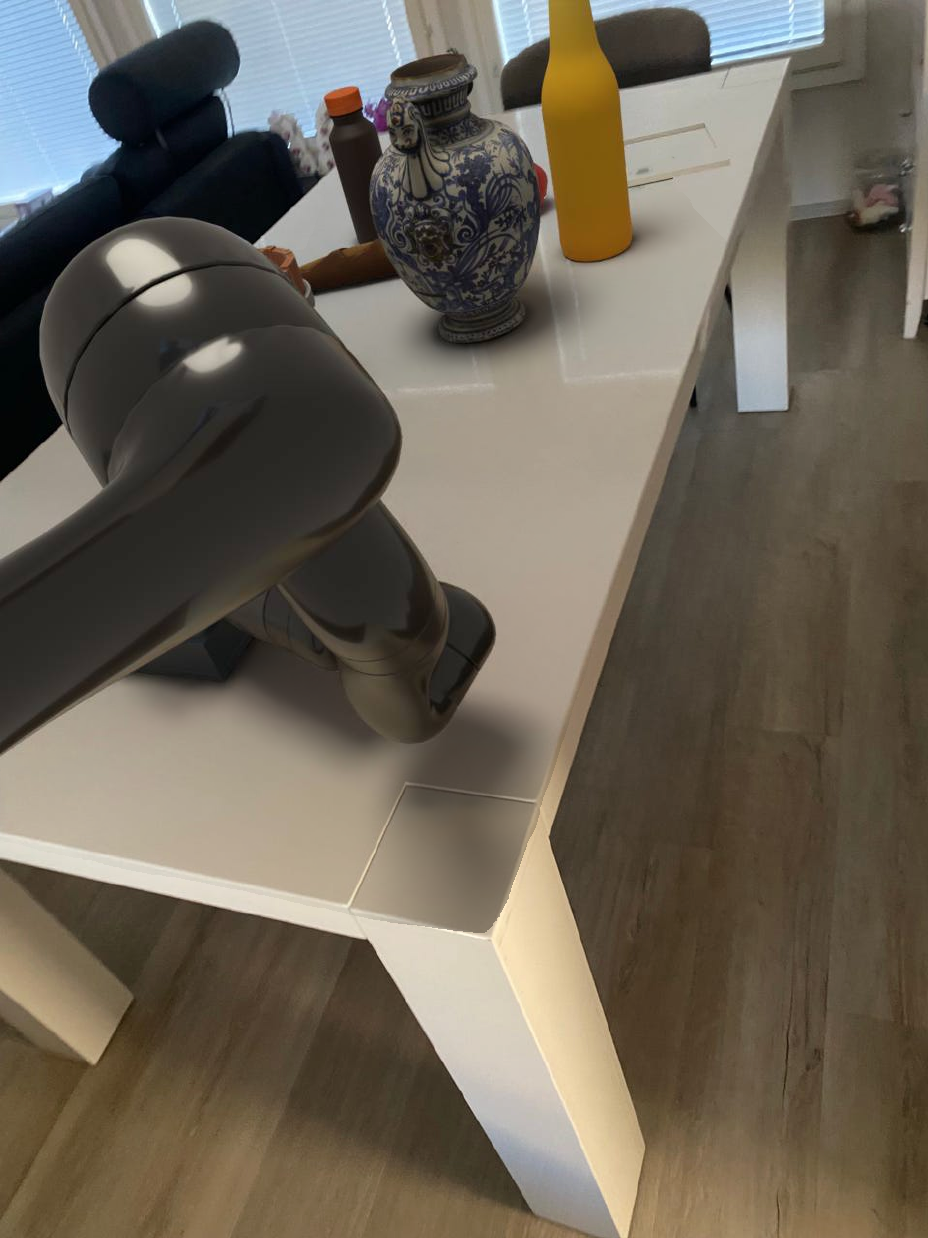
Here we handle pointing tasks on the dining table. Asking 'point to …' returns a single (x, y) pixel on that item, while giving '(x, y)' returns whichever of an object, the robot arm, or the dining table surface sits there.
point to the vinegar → (354, 156)
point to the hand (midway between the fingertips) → (143, 526)
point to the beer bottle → (584, 138)
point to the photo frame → (678, 172)
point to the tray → (202, 654)
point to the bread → (348, 266)
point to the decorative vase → (455, 200)
